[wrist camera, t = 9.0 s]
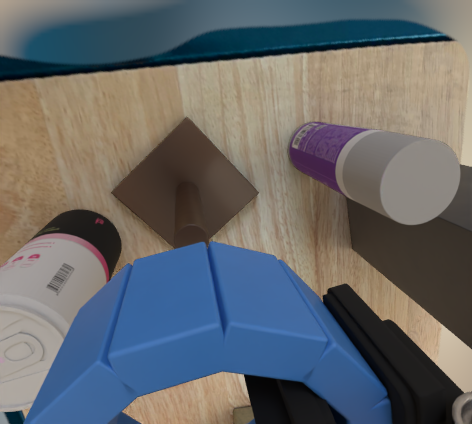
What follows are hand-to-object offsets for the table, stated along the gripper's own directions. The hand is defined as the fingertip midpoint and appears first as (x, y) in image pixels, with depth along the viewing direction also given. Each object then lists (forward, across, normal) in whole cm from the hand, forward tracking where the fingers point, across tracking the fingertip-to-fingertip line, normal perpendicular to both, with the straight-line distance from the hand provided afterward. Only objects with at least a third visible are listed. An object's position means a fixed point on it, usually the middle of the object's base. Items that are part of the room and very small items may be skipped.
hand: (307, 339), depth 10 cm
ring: (0, +3, 0) cm, 3 cm away
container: (+22, -9, -1) cm, 24 cm away
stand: (+22, +3, 0) cm, 22 cm away
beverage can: (+22, +13, +2) cm, 26 cm away
